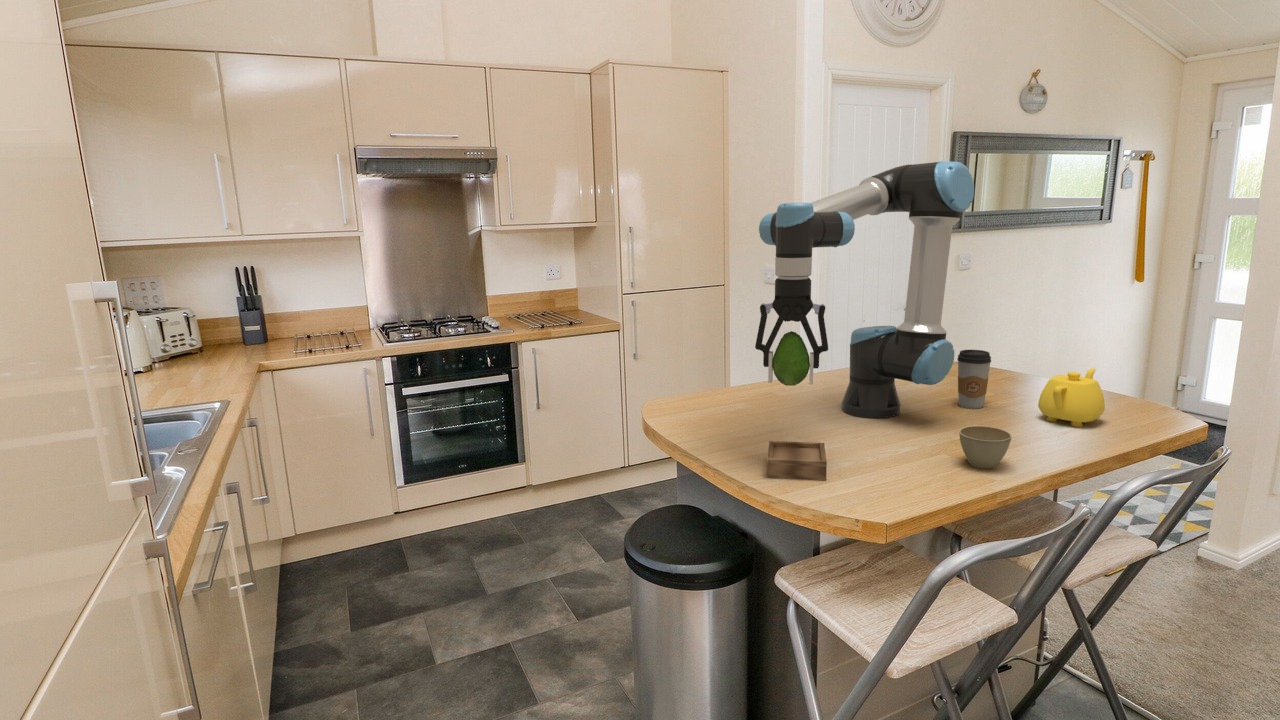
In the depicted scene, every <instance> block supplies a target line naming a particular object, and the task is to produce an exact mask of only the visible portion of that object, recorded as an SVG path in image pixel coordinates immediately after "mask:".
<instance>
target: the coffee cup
mask: <svg viewBox="0 0 1280 720" xmlns="http://www.w3.org/2000/svg"><path fill="white" fill-rule="evenodd" d="M956 361H957V392H958V395H957V398H958V405H959V407H962V408H965V409H971V410H977V409H978V410H979V409H981V408H983V407H984V406H985V403H986V402H985V400H986V395H987V388H988V383H989V375H990V374H989V372H990V366H991V363H992V357H991V354H990V352H989V351H986V350H982V349H962V350H960V351H959V354H958V355H957V360H956Z"/></svg>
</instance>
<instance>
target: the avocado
mask: <svg viewBox="0 0 1280 720" xmlns="http://www.w3.org/2000/svg"><path fill="white" fill-rule="evenodd" d="M779 340H780V341H779V342H778V345H777V346H776V348H775V351H774V353H773V363H772V367H773V374H774V376H775V378H777V380H778V382H779V383H781V384H782V385H784V386H793V387H795V386H796V385H799V384H800V383H802V382H803V381H804V380H805V379H806V378H807V377H808V374H809V373H810V353H809V352H808V348H807V346H806V343H805V341H804V339H803V338H802V337H801V335H799V333H797V332H796V331H792V330H791V331H787V332H786V333H784V334H783V335H782V337H781V338H780V339H779Z"/></svg>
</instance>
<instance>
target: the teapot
mask: <svg viewBox="0 0 1280 720" xmlns="http://www.w3.org/2000/svg"><path fill="white" fill-rule="evenodd" d="M1096 370H1097V369H1096V368H1094V367H1093V368H1090V369H1088V370H1087V371H1086V374H1085V375H1084V376H1081V375H1082V374H1081V373H1080V372H1076V371H1075V372H1074V371H1068V372H1067V374H1061V375H1056V376H1052V377H1051V378H1049V380H1048V381H1047V382H1046V384H1045V386H1044V387H1043V389H1042V391H1041V392H1040V395H1039V399H1038V404H1037V406H1038V408H1039V411H1040V413H1041V414H1042V415H1044V416H1047V417H1046V418H1045V421H1047V422H1051V423H1052V422H1053V423H1055V422H1057V421H1058V420H1063V421H1068V422H1069V421H1070V426H1071V427H1074V428H1083V423H1095V420H1098V419H1099V418H1100V417H1101V416H1102V415H1103V414H1104V412H1105V406H1106V405H1105V404H1106V403H1105V396H1104V392H1103V390H1102V387H1101V386H1100V384H1099V381H1098V380H1096V379H1093V378H1094V374H1095V372H1096Z"/></svg>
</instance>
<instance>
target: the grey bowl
mask: <svg viewBox="0 0 1280 720" xmlns="http://www.w3.org/2000/svg"><path fill="white" fill-rule="evenodd" d="M958 432H959V433H958V435H959V441H960V445H961V448H962V450H963V451H962V452H963V453H964V455H965V458H966V460H967V461H968V462H969V465H971V466H972V467H975V468H979V469H994V468H996V467H997V466H998V465H999V464H1000V463H1001V461H1002V460H1003V459H1004V457H1005V455H1006V454H1007V451H1008V450H1009V447H1010V444H1011V442H1012V441H1011V440H1012V434H1011V433H1010V432H1009V431H1007V430H1006V429H1003V428H999V427H994V426H988V425H969V426H965V427H964V426H963V427H961V428H960V429H959V431H958Z"/></svg>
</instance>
